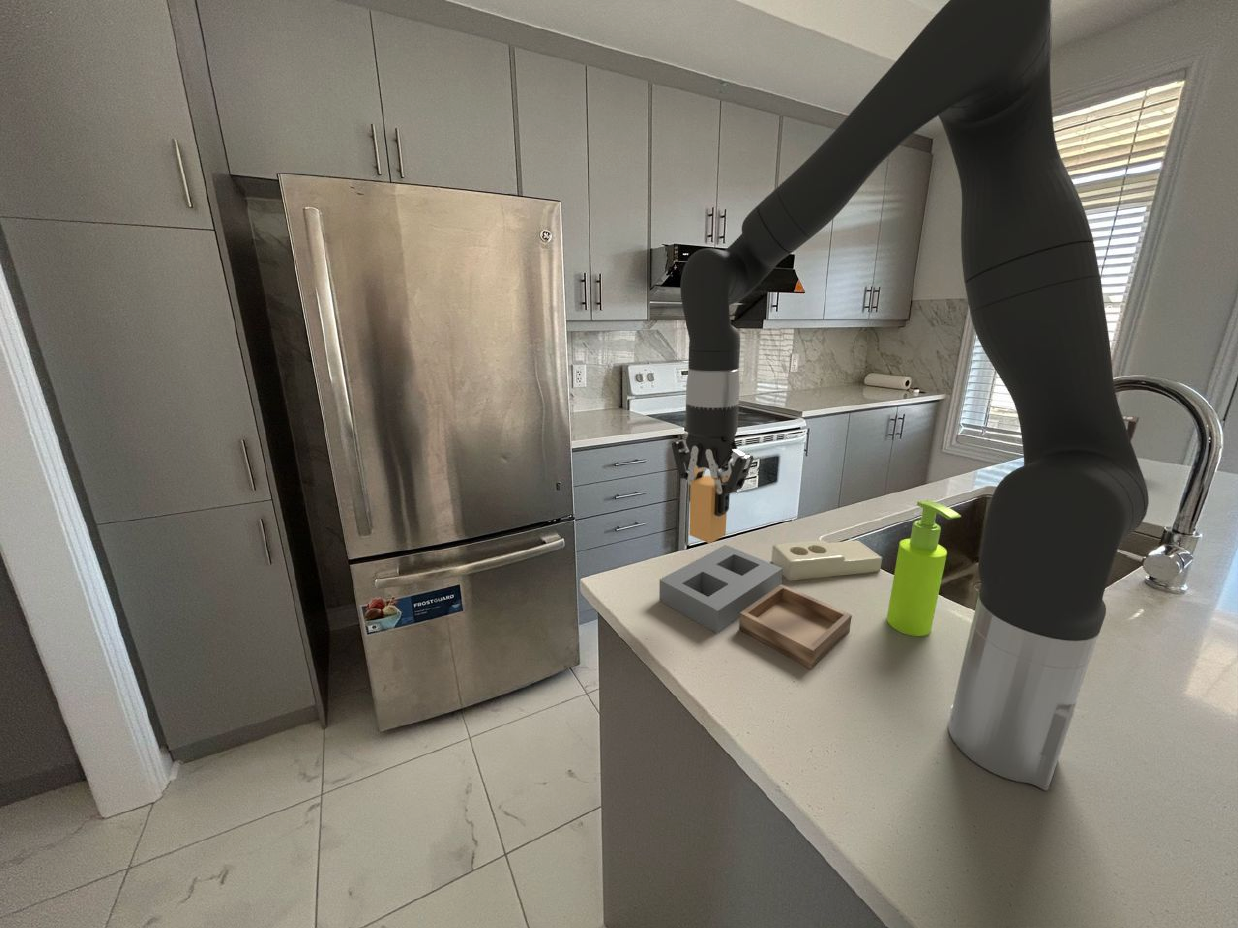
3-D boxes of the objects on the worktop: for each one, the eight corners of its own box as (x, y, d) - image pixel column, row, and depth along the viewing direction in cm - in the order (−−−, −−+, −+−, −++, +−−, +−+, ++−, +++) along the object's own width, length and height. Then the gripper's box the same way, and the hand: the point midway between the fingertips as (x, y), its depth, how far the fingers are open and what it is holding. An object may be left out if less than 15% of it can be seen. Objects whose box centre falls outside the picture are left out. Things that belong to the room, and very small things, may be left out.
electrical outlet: (882, 553, 87) (790, 562, 85) (879, 572, 88) (788, 582, 86) (858, 536, 94) (772, 543, 92) (855, 554, 95) (770, 562, 93)
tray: (849, 631, 72) (851, 614, 71) (811, 669, 65) (813, 650, 64) (779, 599, 80) (781, 584, 79) (738, 629, 73) (739, 612, 72)
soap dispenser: (914, 643, 69) (939, 516, 63) (877, 616, 75) (897, 498, 69) (946, 636, 70) (974, 511, 64) (908, 609, 77) (929, 493, 71)
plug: (725, 535, 75) (728, 481, 72) (709, 543, 73) (711, 487, 70) (705, 527, 78) (707, 475, 75) (689, 534, 76) (690, 481, 73)
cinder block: (780, 588, 83) (782, 568, 82) (716, 633, 72) (717, 610, 71) (724, 563, 92) (725, 544, 91) (659, 600, 81) (659, 579, 80)
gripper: (770, 402, 66) (761, 516, 71) (691, 392, 76) (688, 492, 82) (738, 410, 61) (731, 532, 67) (658, 398, 72) (658, 504, 77)
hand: (708, 509), depth 74 cm, fingers closed on plug, 4 cm apart
